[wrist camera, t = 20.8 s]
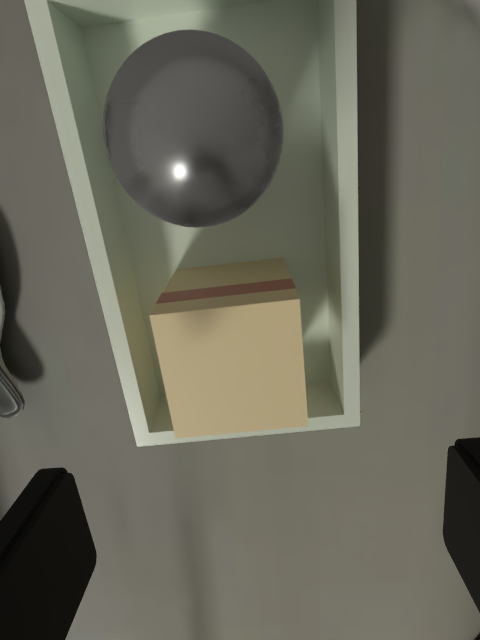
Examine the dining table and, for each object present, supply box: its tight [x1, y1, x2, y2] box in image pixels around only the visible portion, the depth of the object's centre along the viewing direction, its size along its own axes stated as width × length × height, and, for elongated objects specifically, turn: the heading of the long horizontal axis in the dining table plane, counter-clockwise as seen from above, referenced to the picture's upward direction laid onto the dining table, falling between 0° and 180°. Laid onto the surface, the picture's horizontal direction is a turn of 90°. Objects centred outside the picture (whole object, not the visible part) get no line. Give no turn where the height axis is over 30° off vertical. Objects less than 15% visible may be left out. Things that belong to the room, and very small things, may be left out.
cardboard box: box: [149, 258, 308, 439], centre depth 17 cm, size 5×5×6 cm
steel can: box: [103, 29, 283, 228], centre depth 14 cm, size 5×5×7 cm
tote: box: [24, 0, 360, 447], centre depth 17 cm, size 10×18×4 cm, turn 7°
